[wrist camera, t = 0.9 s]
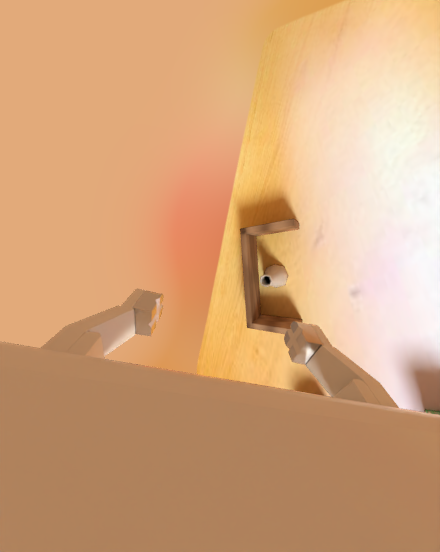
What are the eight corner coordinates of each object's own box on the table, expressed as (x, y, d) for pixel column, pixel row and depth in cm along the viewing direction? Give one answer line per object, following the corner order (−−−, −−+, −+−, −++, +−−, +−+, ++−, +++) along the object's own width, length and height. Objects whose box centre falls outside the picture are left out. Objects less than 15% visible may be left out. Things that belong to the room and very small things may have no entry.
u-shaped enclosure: (298, 223, 46) (294, 218, 39) (302, 324, 48) (298, 336, 42) (251, 231, 53) (240, 228, 47) (256, 318, 56) (247, 327, 49)
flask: (265, 287, 53) (253, 294, 45) (263, 265, 53) (251, 267, 44) (288, 287, 49) (281, 294, 41) (287, 263, 49) (279, 265, 40)
